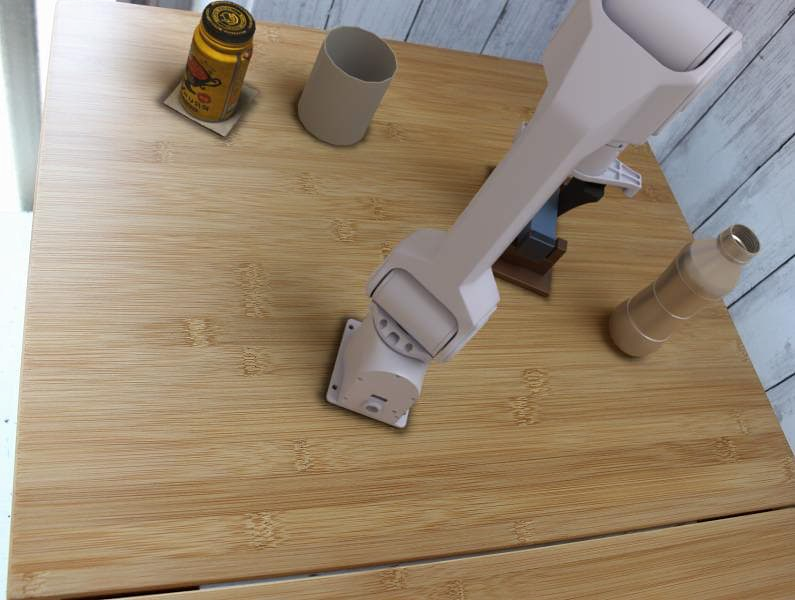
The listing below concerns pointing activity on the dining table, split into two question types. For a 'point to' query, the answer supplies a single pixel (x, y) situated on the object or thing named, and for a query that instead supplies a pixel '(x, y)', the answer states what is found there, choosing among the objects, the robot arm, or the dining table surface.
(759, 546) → the dining table surface
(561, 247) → the holder
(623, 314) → the plastic bottle
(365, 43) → the cup
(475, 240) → the robot arm
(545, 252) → the handle
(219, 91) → the condiment
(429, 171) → the dining table surface
